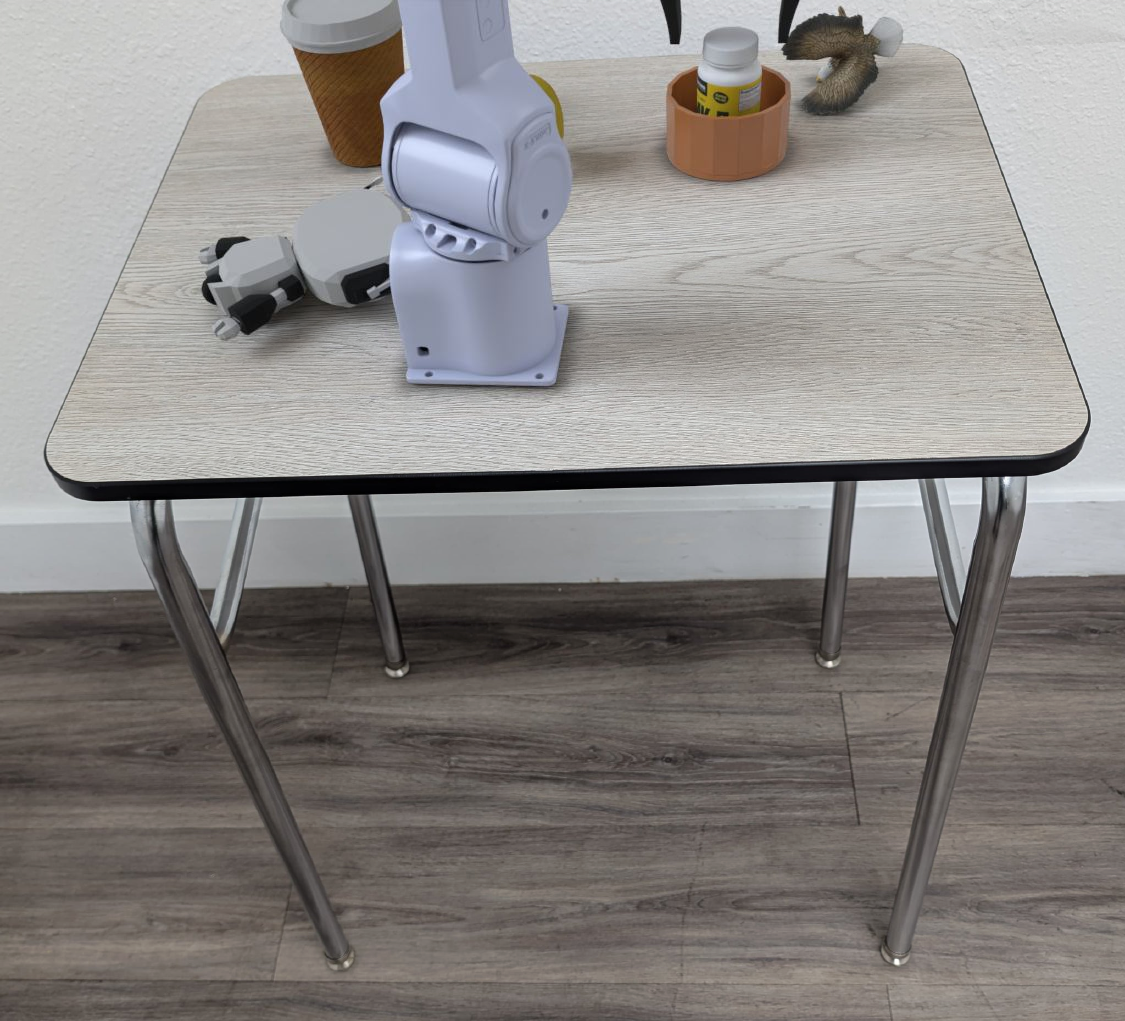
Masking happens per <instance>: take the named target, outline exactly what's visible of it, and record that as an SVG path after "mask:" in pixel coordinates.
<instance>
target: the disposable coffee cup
mask: <svg viewBox="0 0 1125 1021" xmlns="http://www.w3.org/2000/svg"><path fill="white" fill-rule="evenodd" d="M279 30H280V32H281V34H282V36H283V37H284V38H285V39H286V41H287V43H288V44H289V45H291V48H292V50H293V53H294V55H295V59H296V61H297V63H298V66H299V69H300V71H301V73H302V76H303V80H304V82H305V84H306V87H307V90H308V92H309V95H310V97H311V100H312V103H313V105H314V108H315V109H316V110H315V111H316V112H317V115H318V118H319V120H320V124H321V126H322V128H323V131H324V133H325V136H326V138H327V141H328V144H329V147H330V149H331V152H332V155H333V158H334V159H335V160H336V161H337V162H339V163H340V164H344V165H346V166H351V167H361V168H362V167H373V166H379V165H382V150H383V142H384V123H383V116H382V111H381V107H380V101H381V99H382V98H383V97H384V95H385V94H386V93H387V91H388V90H389V89H390V87H391V86H392V85H393V84H394V83H395V82H396V81H397V80H398V79H399V78H400V77H401V76H402V75H403V74H404V73H406V72H405V56H404V42H403V41H404V39H403V26H402V20H401V15H400V10H399V4H398V0H284V1H283V3H282V7H281V20H280V21H279Z"/></svg>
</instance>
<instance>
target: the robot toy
mask: <svg viewBox="0 0 1125 1021" xmlns="http://www.w3.org/2000/svg"><path fill="white" fill-rule="evenodd" d="M382 183H384V180H383V176H382V175H378V176H377V177H375V178H373V179H372V181H370V182H369V183H367V184H365V185H364V186H362V187H360V188H356V189H353V190H350V191H347V192H344V193H340V194H338V195H334V196H330V197H328V198H325V199H321V200H317V201H315V202H312V203H311V204H310V205H309V206H308V207H306V209H305V210H304V211H303V212H302V213H301V214H300V215H299V217H298V219H297V221H296V222H295V223H294V226H293V228H292V234H291V241H290V239H288V237H287V236H281V235H279V234H275V235H274V234H273V235H269V236H262V237H258V238H253V239H251V238H248V237H246V236H244V235H242V236H240V235H239V236H227V237H220V238H219V239H218V240H217V241H216V243H214V242H212V243H207V244H204V245H203V246H202V247H201V248H200V250H199V252H198V253H197V259H198V261H199V262H200V263H201V264H202V265H207V267H206V269H205V271H204V273H205V276H206V278H205V279H204V280H203V281H202V285H201V288H200V289H201V290H200V291H201V293H202V297H203V298H204V300H205V301H206V302H207V303H209V304H210V305H212V306H217V307H218V310H219V312H221V313H222V314H223V315H225V316H229V317H222V318H219V319H218V320H217V321H215V323H213V324H212V326H211V331H212V333H213V335H214V336H215V337H218V339H219V340H220V341H225V342H226V341H229V340H232V339H235V338H237V336H238V334H239V333H240V332H241V333H242V334H244V335H246V336H249V335H251V334H253V333H254V332H256V331H258V330H259V329H260V328H262V327H263V326H265V325H266V324H268V323H270V321H271V319H272V317H273V316H274V315H275V314H277V313H278V312H280V310H281V309H283V308H286V307H288V306H290V305H292V304H295V303H297V302H298V301H300V300H302V299H303V296H305V295H306V291H307V288H308V289H309V291H310V292H311V293H312V295H314V296H315V297H316V298H317V299H319V301H322V302H325V303H327V304H330V305H333V306H339V307H345V308H353V307H357V306H359V305H362V304H366V303H373V302H378V301H380V300H383V299H384V298H386V297H388V296H390V295H392V293H391V286H390V271H389V259H390V248H391V242H392V238H393V234H394V231H395V229H396V227H397V226H398V225H399V224H400V223H403V222H408V221H412V216H411V214H409V213H408V211H407V210H406V209H405V207H403V206H401V205H399V204H398V203H396V202H395V201H394V200H393V199H392V198H391V196H390V195H389V194H387V193H384V192H381V191H379V190H375V189H371V188H373V187H375V186H379V185H380V184H382ZM306 286H307V287H306Z"/></svg>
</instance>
